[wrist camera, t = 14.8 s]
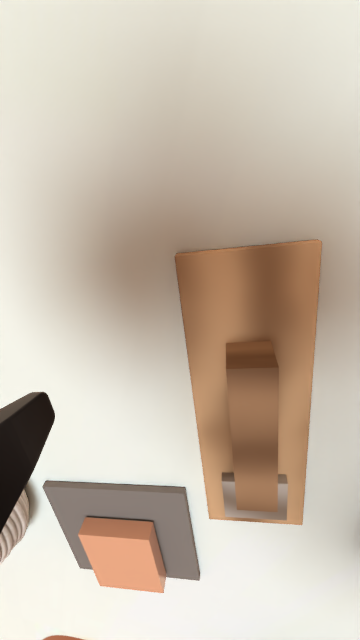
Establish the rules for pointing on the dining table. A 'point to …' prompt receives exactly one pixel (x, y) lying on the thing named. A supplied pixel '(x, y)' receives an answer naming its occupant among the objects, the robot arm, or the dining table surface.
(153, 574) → the tile
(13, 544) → the cable
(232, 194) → the dining table surface
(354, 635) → the dining table surface
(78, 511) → the mat
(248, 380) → the brown wooden plank
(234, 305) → the board
